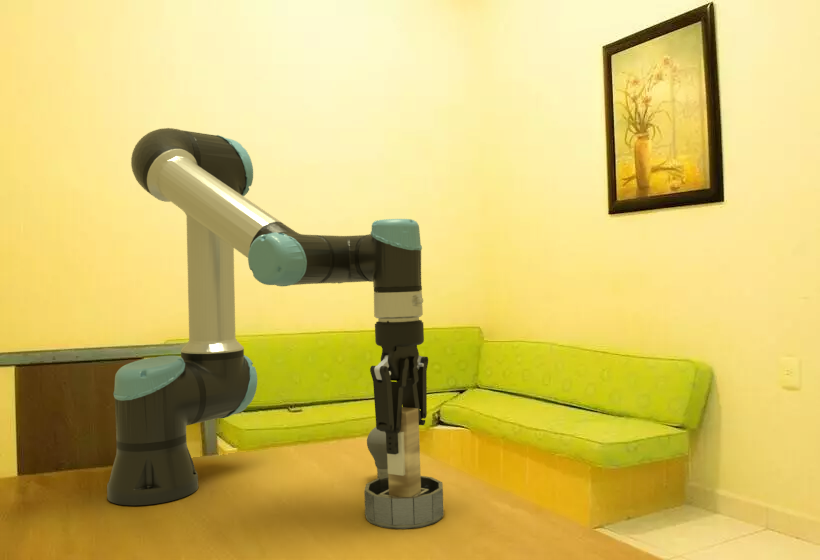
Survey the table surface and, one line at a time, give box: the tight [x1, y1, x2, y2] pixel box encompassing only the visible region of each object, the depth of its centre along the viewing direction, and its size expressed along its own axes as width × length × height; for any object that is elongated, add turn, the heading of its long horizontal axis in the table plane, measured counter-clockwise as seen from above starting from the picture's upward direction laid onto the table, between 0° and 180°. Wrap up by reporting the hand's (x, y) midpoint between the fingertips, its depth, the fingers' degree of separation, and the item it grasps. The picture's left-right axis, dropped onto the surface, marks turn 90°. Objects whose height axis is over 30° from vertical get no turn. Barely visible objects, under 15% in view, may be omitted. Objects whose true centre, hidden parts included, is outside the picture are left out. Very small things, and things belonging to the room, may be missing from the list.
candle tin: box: [363, 475, 444, 530], centre depth 111 cm, size 12×12×4 cm
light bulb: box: [366, 426, 388, 479], centre depth 130 cm, size 6×6×10 cm
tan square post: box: [388, 407, 422, 497], centre depth 111 cm, size 4×4×13 cm
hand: (404, 470), depth 111 cm, fingers closed on tan square post, 4 cm apart
